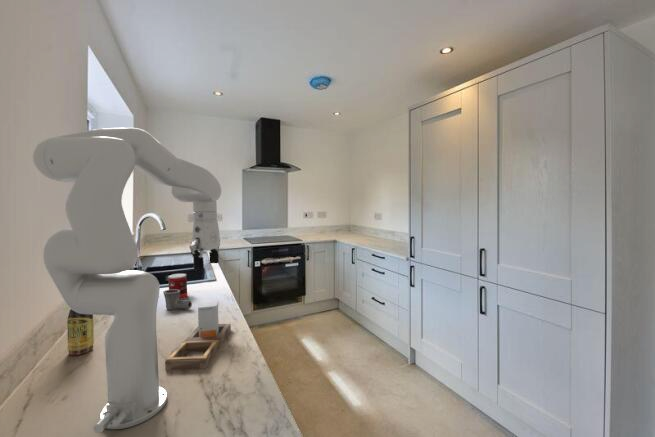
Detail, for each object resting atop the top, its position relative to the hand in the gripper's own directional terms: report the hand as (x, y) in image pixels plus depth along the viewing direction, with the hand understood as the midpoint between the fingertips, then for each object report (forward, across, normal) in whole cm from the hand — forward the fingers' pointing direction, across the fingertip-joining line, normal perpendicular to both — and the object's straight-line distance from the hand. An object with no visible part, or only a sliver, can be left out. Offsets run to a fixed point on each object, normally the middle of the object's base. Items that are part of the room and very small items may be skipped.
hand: (206, 265), depth 100 cm
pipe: (+25, +22, +27) cm, 43 cm away
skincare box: (+25, -3, -2) cm, 25 cm away
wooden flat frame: (+25, -8, -3) cm, 26 cm away
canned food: (+24, +36, +37) cm, 57 cm away
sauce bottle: (+25, -15, +34) cm, 45 cm away
